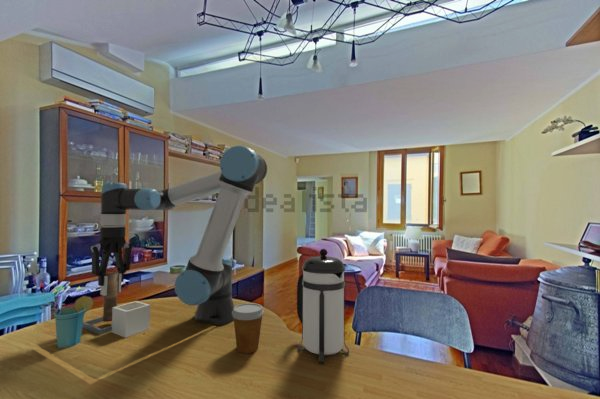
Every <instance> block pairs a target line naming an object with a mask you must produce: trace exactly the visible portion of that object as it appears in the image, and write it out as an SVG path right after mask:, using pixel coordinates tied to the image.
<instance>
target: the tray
mask: <svg viewBox="0 0 600 399" xmlns="http://www.w3.org/2000/svg"><path fill="white" fill-rule="evenodd" d="M102 322H104V321H103V316H100V317H97V318H93V319H90V320H86V321H83V325H82V329H86V330H88V331H91V332H92V333H95V334H96V335H100V336H101V335H104V334H107V333H110V332H111V333H112V325H110V326H106V327H104V328H100V327H98V326H95V325H97V324H99V323H102Z"/></svg>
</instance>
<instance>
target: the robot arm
mask: <svg viewBox="0 0 600 399" xmlns="http://www.w3.org/2000/svg"><path fill="white" fill-rule="evenodd" d="M219 169H220V171H217V172H213V173H211V174H208V175H204V176H201V177H198V178H195V179H192V180H188V181H187V182H183V183H180V184H177V185H176V184H175V185H174V186H170V187H168V188H165V189H164V188H163V189H161V190H159V189H158V190H157V189H155V188H150V187H149V188H148V187H145V188H144V187H143V188H128V187H127V184H126V183H124V182H111V181H110V182H109V181H108V182H103V183H102V186H101V193H100V199H101V200H100V201H101V202H100V204H101V206H100V207H101V208H100V223H99V224H100V226H101V227H100V230H99V241H98V244H95V245H91V246H90V247H89V249H90V252H91V274H92V276H97V277H98V279H97V282H98V284H97V286H99V287H100V292H99V294H100V296H103V297H104V296H106V295H107V279H108V276H105V274H106V273H107V268H108V266H109V261H110V258H111V256H112V254H113V255H114V258H115V264H116V270H117V271H116V272H118V293H122V283H123V282H124V281H125V280H124V278H125V277H124V276H125V274H126V272H127V271H130V269H131V259H132V258H131V254H132V249H133V246H134V243H132V242H129V241H127V240H126V238H125V237H126V227H125V226H126V225H127V224H126V223H127V210H128V211H131V210H132V211H133V210H134V211H169V210H173V209H174V208H175V207H176V206H180V205H183V204H186V203H189V202H193V201H195V200H199V199H203V198H205V197H209V196H212V195H215V194H218V195H217V198H216V200H215V202H214V206H213V209H212V211H211V214H210V216H209V219H208V221H207V225H206V227H205V229H204V232H203V235H202V238H201V240H200V244H199V246H198V248H197V251H196V253H195V254H194V255H192V256H190V257H189V259H188V261H187V264H186V267H185V269H184V270H182V271H181V272H180V273H179V274H178V275H177V276H176V278H175V281H174V292H175V294H176V296H177V298H178V299H179V300H180V301H181V302H182V303H184V305H187V306H190V307H191V306H194V307H195V306H197V307H196V311H195V312H194V320H195V321H196V322H197V323H200V324H208V325H212V324H213V325H212V326H213V327H217V326H223V325H225V324H228V323H231V322H234V318H233V315H232V312H233V309H234V307H235V304H234V301H233V296H232V291H233V290H232V288H233V287H232V285H233V260H232V259H231V258H230V257H224V256H225V253H226V250H227V248H228V246H229V242H230V240H231V237H232V234H233V232H234V229H235V226H236V224H237V221H238V220H239V219H238V218H239V215H240V212H241V210H242V208H243V205H244V203H245V199H246V197H248V195H250V194H252V193H253V191H254V188H255V186H256V185H257V184H260V183H261V182H262V181H263V180H264V179H265V178H266V177H267V173H268V165H267V162H266V160H265V159H264V157H263V156H261V155H260V154H258V153H257V152H256V150H253V149H252V148H250V147H247V146H245V145H234V146H231V147H230V148H228V149H226V150H225V151H224V152H223V154H222V155H221V157H220V161H219ZM123 247H124V249H123ZM122 249H123V250H122ZM100 250H102V252H101V258H100ZM100 259H101V260H100Z"/></svg>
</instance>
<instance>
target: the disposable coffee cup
mask: <svg viewBox="0 0 600 399" xmlns="http://www.w3.org/2000/svg"><path fill="white" fill-rule="evenodd" d="M264 313H265V311H264V309H263V306H262V304H259V303H254V302H248V303H240V304H237V305H234V309H233V312H232V315H233V318H234V320H233V323H234V324H233V326H234V336H235V345H236V351H237V352H239V353H241V354H243V353H244V354H250V353H254V352H256V351H257V350H259V345H260V344H259V343H260V335H261V329H262V321H263V316H264Z"/></svg>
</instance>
